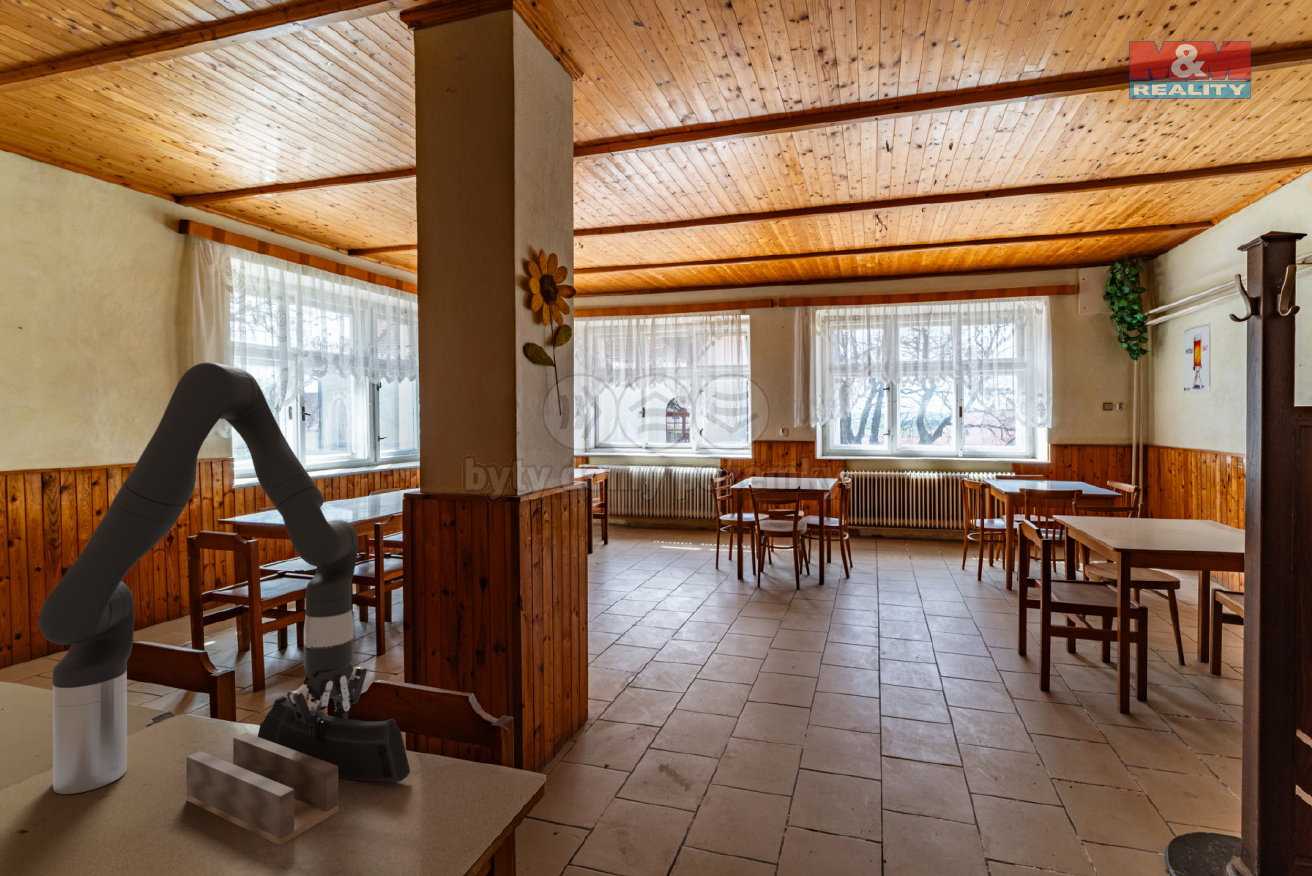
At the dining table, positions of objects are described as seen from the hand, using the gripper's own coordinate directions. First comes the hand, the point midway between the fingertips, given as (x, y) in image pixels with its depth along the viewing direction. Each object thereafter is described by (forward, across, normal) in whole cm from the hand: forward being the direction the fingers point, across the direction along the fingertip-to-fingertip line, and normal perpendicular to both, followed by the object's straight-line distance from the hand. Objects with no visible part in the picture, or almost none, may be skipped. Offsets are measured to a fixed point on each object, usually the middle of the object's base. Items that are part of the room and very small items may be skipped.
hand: (329, 736), depth 108 cm
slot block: (+6, +12, 0) cm, 13 cm away
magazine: (+6, 0, 0) cm, 6 cm away
